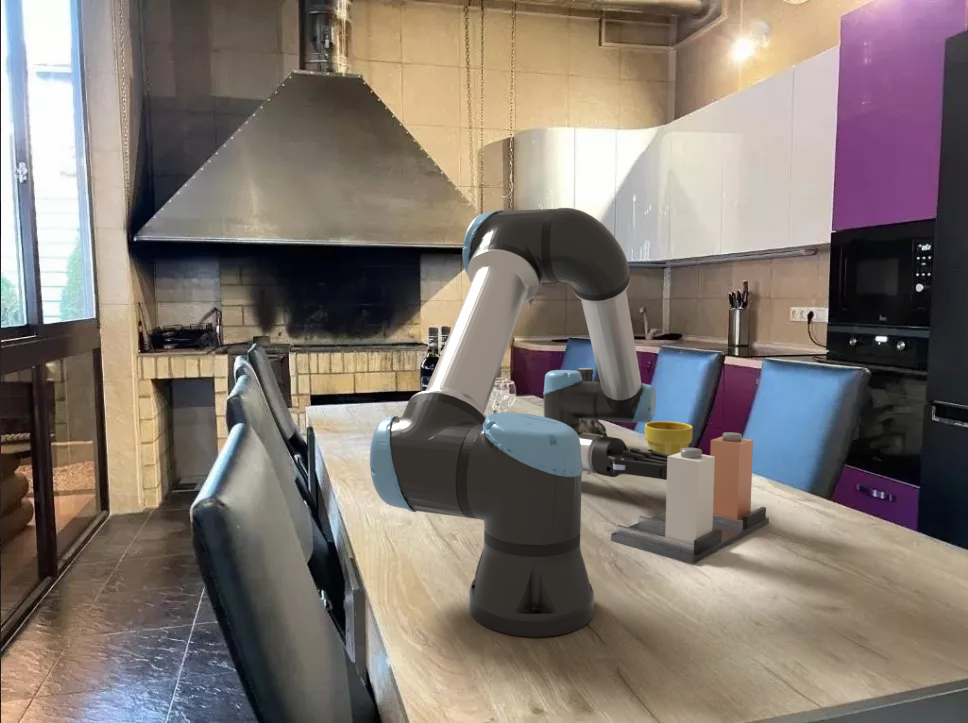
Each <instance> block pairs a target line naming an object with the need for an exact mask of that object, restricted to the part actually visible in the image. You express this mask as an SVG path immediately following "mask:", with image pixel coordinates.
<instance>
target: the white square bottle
mask: <svg viewBox="0 0 968 723" xmlns="http://www.w3.org/2000/svg"><path fill="white" fill-rule="evenodd" d="M714 464H715V456H710V455H707V454H703V450H702V449H701V448H696V447H688V448H681V452H680V453H677V454H673V455H670V456H667V480H666V491H665V492H666V494H665V495H666V496H665V497H666V498H665V499H666V500H665V502H666V503H665V512H666V529H665V537H666V538H670V539H674V540H677V541H681V542H685V543H688V544H692V545H694V540H696V539H698V538H700V537H702V536H704V535H706V534H708V533H710V532H712V525H713V495H714Z"/></svg>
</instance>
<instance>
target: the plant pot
mask: <svg viewBox="0 0 968 723" xmlns="http://www.w3.org/2000/svg"><path fill="white" fill-rule="evenodd" d="M693 431H694V428H693V426H692V425H691V424H687V423H685V422H684V423H683V422H678V421H669V420H668V421H666V420H661V421H659V420H655V421H654V420H653V421H650V422H648V423H645V425H644V440H646V442H647V446H648V450H650V449H652V450H654V451H656V452H659V453H663V454H667V455H673V454H677V453H680V452H681V448H689V445H690V443H692V441H693Z"/></svg>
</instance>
